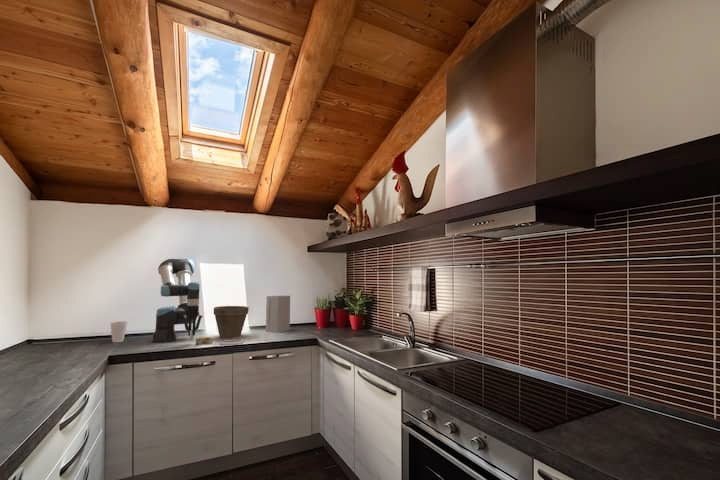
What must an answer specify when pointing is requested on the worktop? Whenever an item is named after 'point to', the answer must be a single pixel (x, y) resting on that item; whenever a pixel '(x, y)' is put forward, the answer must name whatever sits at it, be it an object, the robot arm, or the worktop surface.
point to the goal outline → (232, 343)
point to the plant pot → (230, 320)
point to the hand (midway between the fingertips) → (191, 340)
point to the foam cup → (118, 331)
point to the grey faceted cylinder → (277, 313)
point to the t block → (204, 340)
